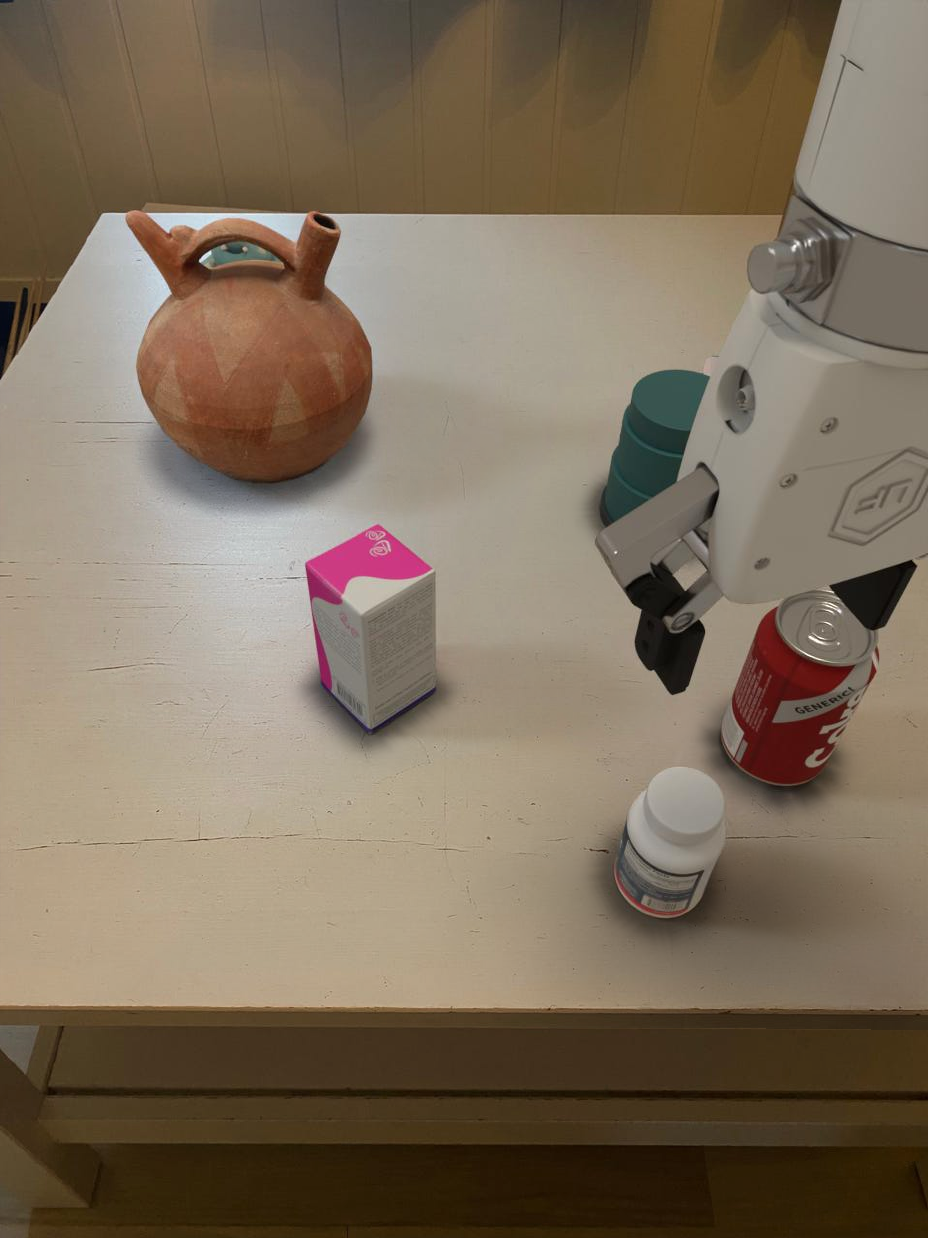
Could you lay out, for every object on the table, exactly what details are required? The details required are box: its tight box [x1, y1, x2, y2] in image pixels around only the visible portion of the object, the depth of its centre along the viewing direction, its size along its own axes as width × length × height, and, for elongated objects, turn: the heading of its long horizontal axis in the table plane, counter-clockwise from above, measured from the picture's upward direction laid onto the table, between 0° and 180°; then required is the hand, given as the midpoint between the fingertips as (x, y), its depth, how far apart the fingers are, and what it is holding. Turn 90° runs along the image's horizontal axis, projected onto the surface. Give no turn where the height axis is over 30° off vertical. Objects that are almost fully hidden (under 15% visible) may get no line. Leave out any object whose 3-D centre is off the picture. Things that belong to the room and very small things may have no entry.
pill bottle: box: [613, 766, 727, 919], centre depth 51 cm, size 5×5×9 cm
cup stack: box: [599, 368, 710, 528], centre depth 72 cm, size 9×9×11 cm
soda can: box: [720, 588, 880, 787], centre depth 56 cm, size 7×7×12 cm
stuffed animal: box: [200, 242, 282, 269], centre depth 95 cm, size 11×7×12 cm
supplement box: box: [304, 523, 437, 735], centre depth 59 cm, size 6×6×12 cm
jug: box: [124, 209, 374, 484], centre depth 73 cm, size 18×18×20 cm
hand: (760, 636), depth 40 cm, fingers open, 9 cm apart
